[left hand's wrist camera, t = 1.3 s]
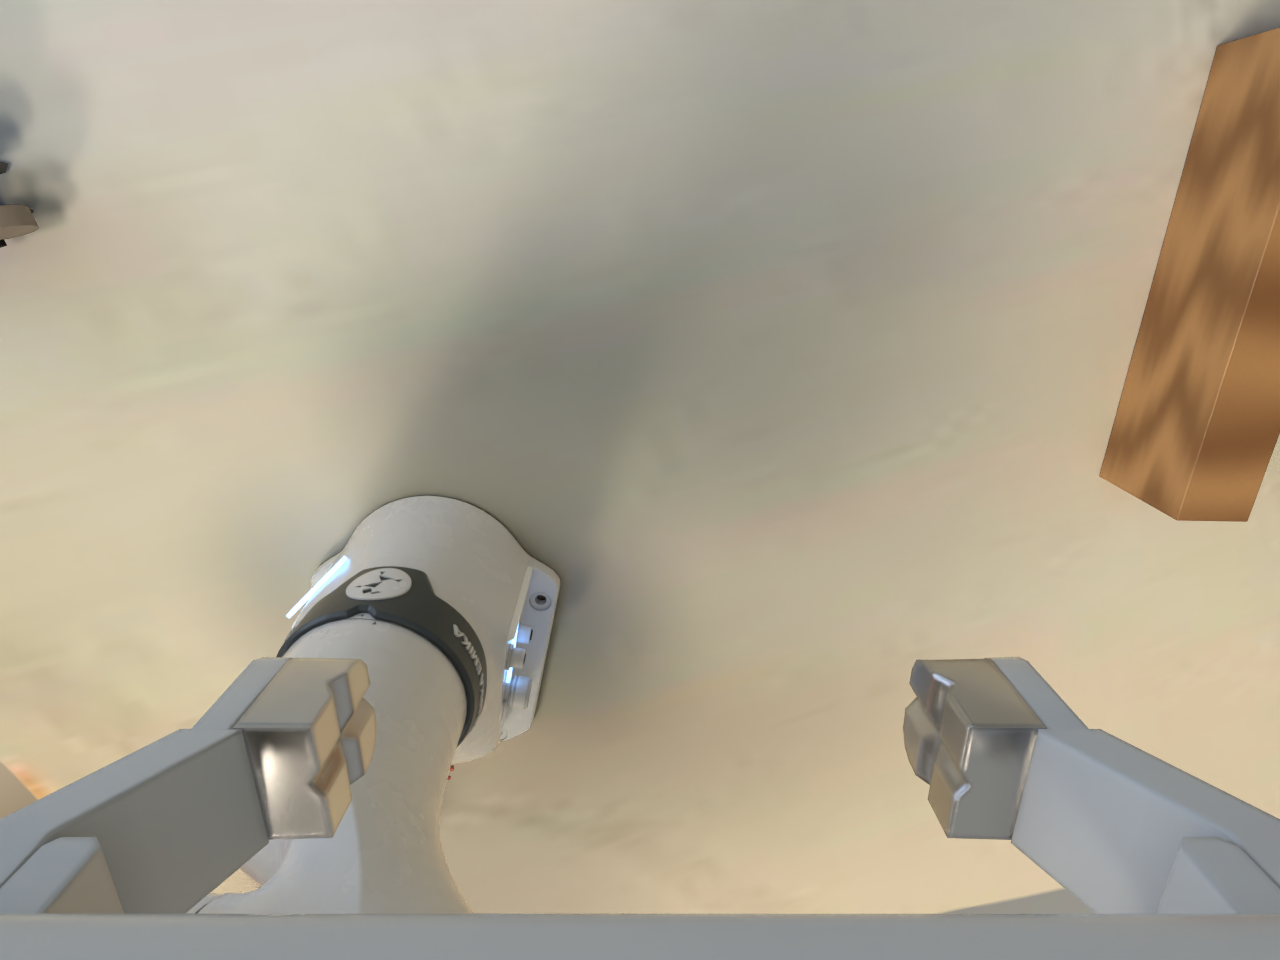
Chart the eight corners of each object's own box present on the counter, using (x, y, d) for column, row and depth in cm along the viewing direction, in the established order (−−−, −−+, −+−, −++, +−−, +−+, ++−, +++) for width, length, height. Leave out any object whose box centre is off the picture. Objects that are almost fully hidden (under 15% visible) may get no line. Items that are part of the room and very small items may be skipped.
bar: (1159, 477, 51) (1247, 522, 43) (1098, 476, 51) (1176, 520, 43) (1292, 47, 41) (1434, 10, 34) (1216, 45, 41) (1342, 8, 34)
